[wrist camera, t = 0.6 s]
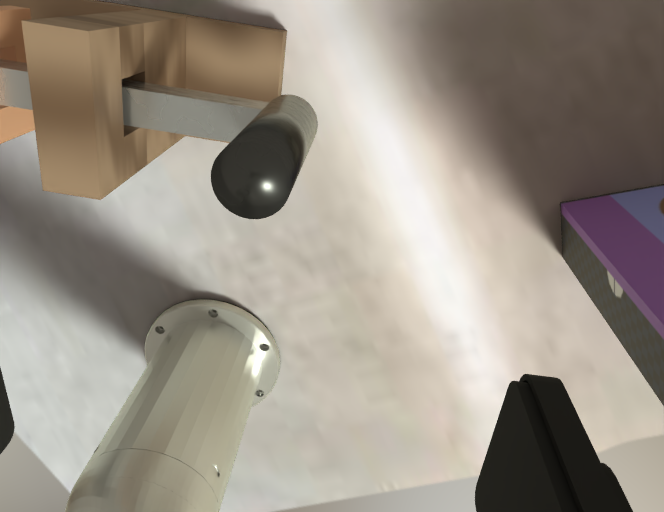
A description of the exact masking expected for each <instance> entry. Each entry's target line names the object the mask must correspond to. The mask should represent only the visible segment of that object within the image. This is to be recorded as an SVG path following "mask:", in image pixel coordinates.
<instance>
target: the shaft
mask: <svg viewBox="0 0 664 512" xmlns="http://www.w3.org/2000/svg"><path fill="white" fill-rule="evenodd" d="M121 81H122V103H123V124H124V125H127V126H134V127H140V128H146V129H152V130H158V131H164V132H171V133H177V134H183V135H189V136H195V137H201V138H208V139H214V140H220V141H226V142H230V143H229V144H228V145H227V147H226V148H225V149H224V150H223V151H222V152H221V153H220V154H219V155H218V156H217V158H216V159H215V161H214V164H213V166H212V170H211V183H212V187H213V190H214V193H215V195H216V197H217V198H218V200H219V201H220V202H221V204H222V205H223V206H224V207H225V208H226V209H228V210H229V211H230V212H232V213H234V214H236V215H238V216H240V217H243V218H248V219H262V218H266V217H269V216H271V215H273V214H275V213H276V212H278V211H279V210H280V209H281V208H282V207H283V206H284V204H285V203H286V201H287V199H288V197H289V195H290V192H291V190H292V188H293V186H294V183H295V181H296V179H297V176H298V174H299V172H300V170H301V167H302V165H303V163H304V160H305V158H306V156H307V154H308V151H309V149H310V147H311V144H312V142H313V140H314V138H315V135H316V132H317V127H318V122H317V117H316V114H315V111H314V110H313V108H312V107H311V105H310V104H309V103H308V102H307V101H305V100H304V99H302V98H300V97H298V96H295V95H281V96H278V97H276V98H274V99H273V100H271V101H270V102H264V101H258V100H252V99H245V98H239V97H233V96H227V95H221V94H214V93H208V92H202V91H196V90H190V89H184V88H177V87H171V86H165V85H159V84H153V83H146V82H140V81H134V80H128V79H121ZM0 105H4V106H10V107H16V108H23V109H29V110H33V108H32V100H31V92H30V85H29V77H28V69H27V63H22V62H16V61H10V60H4V59H0Z"/></svg>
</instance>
